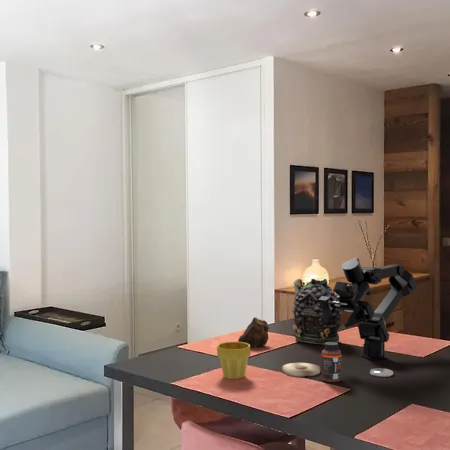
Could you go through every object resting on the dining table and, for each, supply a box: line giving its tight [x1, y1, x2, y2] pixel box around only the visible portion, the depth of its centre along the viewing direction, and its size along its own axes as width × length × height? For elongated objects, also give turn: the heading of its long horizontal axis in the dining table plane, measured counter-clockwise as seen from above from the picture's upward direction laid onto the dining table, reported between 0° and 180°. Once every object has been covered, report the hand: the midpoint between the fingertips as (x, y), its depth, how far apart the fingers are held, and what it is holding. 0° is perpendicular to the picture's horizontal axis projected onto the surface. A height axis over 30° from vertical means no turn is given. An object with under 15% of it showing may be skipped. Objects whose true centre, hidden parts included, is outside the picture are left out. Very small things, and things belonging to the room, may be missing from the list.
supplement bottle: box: [321, 342, 343, 383], centre depth 175 cm, size 6×6×11 cm
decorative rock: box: [237, 317, 270, 348], centre depth 220 cm, size 12×6×11 cm, turn 103°
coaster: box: [281, 362, 321, 378], centre depth 185 cm, size 12×12×1 cm
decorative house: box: [291, 278, 343, 345], centre depth 228 cm, size 21×15×25 cm
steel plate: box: [369, 367, 394, 378], centre depth 182 cm, size 7×7×1 cm
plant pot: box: [216, 341, 251, 380], centre depth 180 cm, size 10×10×10 cm
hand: (333, 324), depth 184 cm, fingers open, 9 cm apart
